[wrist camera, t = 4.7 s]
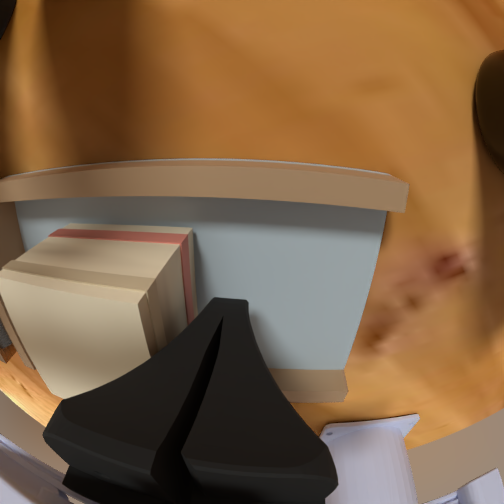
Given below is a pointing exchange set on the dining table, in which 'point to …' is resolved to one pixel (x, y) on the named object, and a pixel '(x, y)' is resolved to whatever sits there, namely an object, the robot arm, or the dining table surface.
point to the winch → (5, 344)
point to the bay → (236, 244)
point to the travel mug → (5, 13)
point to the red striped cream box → (100, 300)
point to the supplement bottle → (492, 105)
